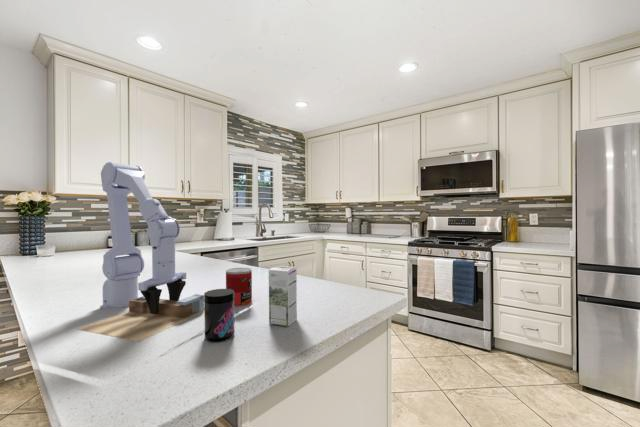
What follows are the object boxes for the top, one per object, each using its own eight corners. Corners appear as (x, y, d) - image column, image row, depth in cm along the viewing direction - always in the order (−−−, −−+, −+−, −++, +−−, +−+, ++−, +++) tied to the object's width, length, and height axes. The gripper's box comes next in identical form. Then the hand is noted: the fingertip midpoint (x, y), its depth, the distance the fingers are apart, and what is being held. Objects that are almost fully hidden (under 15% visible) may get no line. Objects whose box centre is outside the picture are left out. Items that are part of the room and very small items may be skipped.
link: (129, 311, 86) (129, 300, 86) (145, 306, 91) (145, 295, 90) (180, 319, 79) (179, 307, 79) (194, 313, 84) (194, 301, 84)
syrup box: (297, 319, 81) (297, 266, 81) (288, 327, 75) (287, 270, 75) (278, 317, 83) (278, 265, 83) (268, 325, 77) (267, 268, 77)
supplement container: (207, 345, 66) (206, 298, 66) (202, 334, 72) (201, 291, 71) (238, 338, 69) (237, 293, 69) (230, 328, 75) (230, 287, 75)
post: (137, 310, 87) (137, 298, 87) (144, 308, 89) (143, 296, 89) (142, 311, 86) (142, 298, 86) (149, 309, 88) (149, 296, 88)
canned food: (245, 309, 90) (245, 272, 90) (221, 307, 91) (220, 271, 91) (256, 301, 97) (255, 267, 97) (233, 300, 99) (233, 267, 99)
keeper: (176, 318, 80) (176, 301, 80) (196, 309, 87) (196, 294, 87) (185, 319, 79) (184, 302, 79) (204, 310, 86) (204, 295, 86)
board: (75, 332, 73) (75, 328, 73) (156, 304, 95) (156, 301, 95) (139, 344, 66) (139, 341, 66) (210, 311, 88) (210, 308, 88)
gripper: (152, 267, 76) (152, 320, 76) (194, 258, 90) (194, 303, 90) (132, 265, 79) (132, 317, 79) (175, 257, 92) (176, 301, 92)
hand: (164, 309), depth 85 cm, fingers open, 6 cm apart
